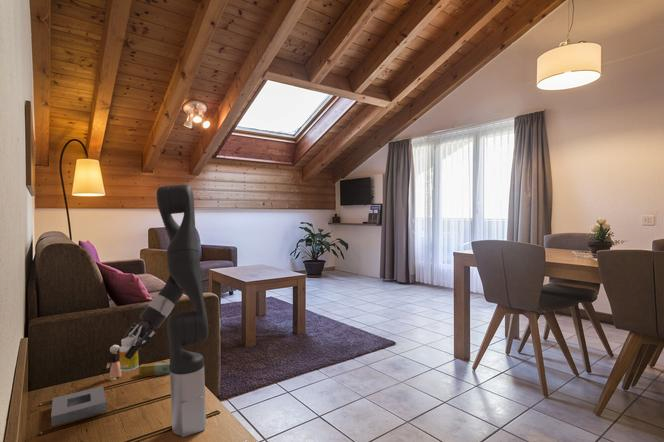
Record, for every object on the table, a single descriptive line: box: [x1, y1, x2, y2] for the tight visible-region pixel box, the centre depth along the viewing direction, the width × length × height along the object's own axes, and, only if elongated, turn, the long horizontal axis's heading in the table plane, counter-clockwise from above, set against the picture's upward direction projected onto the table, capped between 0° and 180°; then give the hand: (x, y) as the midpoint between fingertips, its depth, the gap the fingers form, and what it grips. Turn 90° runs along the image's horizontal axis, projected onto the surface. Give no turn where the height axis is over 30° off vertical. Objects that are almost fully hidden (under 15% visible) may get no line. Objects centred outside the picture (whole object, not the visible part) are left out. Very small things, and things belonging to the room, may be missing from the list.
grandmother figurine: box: [106, 344, 122, 382], centre depth 145 cm, size 8×4×13 cm, turn 179°
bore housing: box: [50, 385, 108, 428], centre depth 121 cm, size 14×14×3 cm
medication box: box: [138, 361, 170, 377], centre depth 147 cm, size 12×3×4 cm, turn 95°
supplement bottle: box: [119, 337, 140, 372], centre depth 125 cm, size 5×5×10 cm
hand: (123, 355), depth 124 cm, fingers closed on supplement bottle, 5 cm apart
